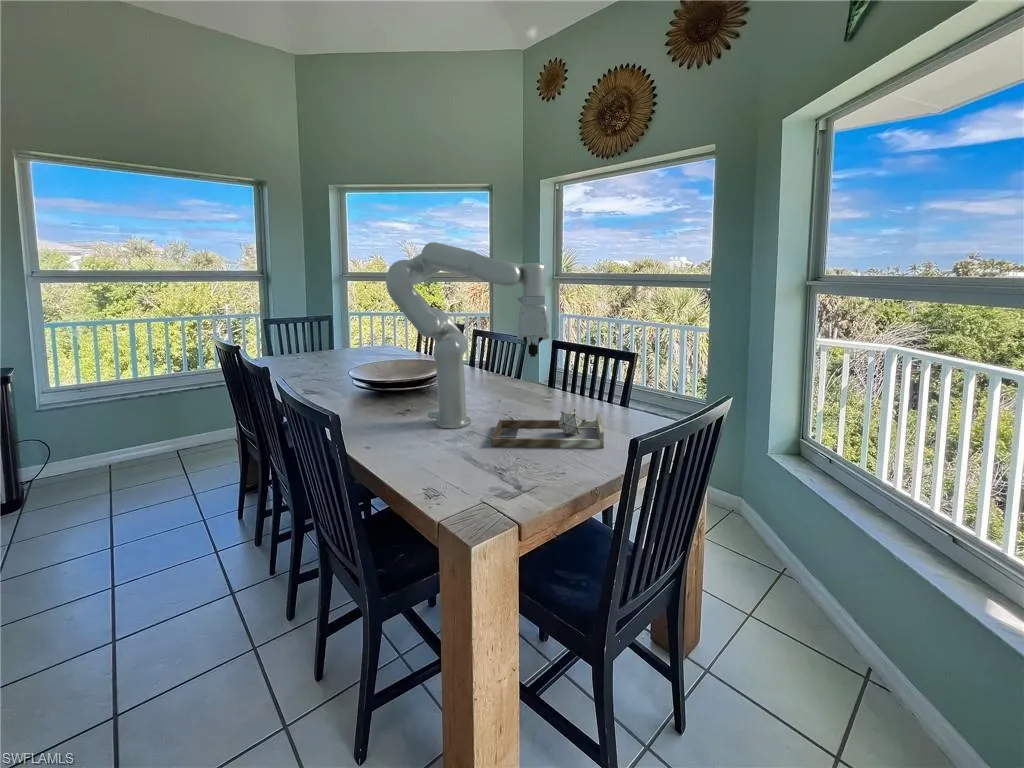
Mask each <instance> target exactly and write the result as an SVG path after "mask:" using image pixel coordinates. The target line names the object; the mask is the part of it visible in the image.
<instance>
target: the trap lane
mask: <svg viewBox="0 0 1024 768" xmlns="http://www.w3.org/2000/svg"><path fill="white" fill-rule="evenodd" d="M600 414H601V413H599V412H596V417H595V418H596V420H592V419H591V420H590V419H589V420H588V419H587V420H586V419H584V420H585V421H583V422H582V425H581V427H596V428H595V429H596V433H598V434H597V438H540V437H539V438H537V437H536V438H530V437H528V438H527V437H525V438H524V437H523V438H521V437H520V438H519V437H517V435H518V432H519V428H520V429H521V427H522V429H524V428H523V427H529V428H528V429H561V428H560V427H559V426H555V425H558V423H559V420H560V419H499V420H498V422H497V425H496V427H495V429H494V431H493V434H492V435H491V438H490V446H491V448H493V447H494V448H546V449H547V448H553V449H554V448H556V449H557V448H558V447H559V448H562V449H563V448H564V449H567V448H568V449H569V448H570V449H604V448H605V446H604V445H605V444H604V443H605V438H604V437H605V431H604V427H603V423H602V417H601V415H600ZM502 427H503V428H502ZM504 427H506V428H504ZM507 427H508V428H507ZM509 427H510V428H509ZM511 427H513V428H511ZM515 427H516V428H515ZM517 427H518V428H517ZM540 427H542V428H540ZM598 438H599V439H598Z"/></svg>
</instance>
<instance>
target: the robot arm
mask: <svg viewBox="0 0 1024 768" xmlns="http://www.w3.org/2000/svg"><path fill="white" fill-rule="evenodd" d="M440 271H441V272H446V273H450V274H453V275H457V276H461V277H464V278H465V277H466V278H468V279H476V280H479V281H483V282H487V283H491V284H495V285H499V286H503V287H513V286H517V285H521V297H518V298H517V302H518V303H520V304H521V305H519V308H518V314H517V336H516V337H517V339H518V340H523V341H524V342H525V343H527V345H528V355H530V358H535V357H536V356H537V355H538V354H539V353H538V352H539V344H540V343H541V342H542V341H545V340H549V339H550V335H549V327H550V326H549V322H550V321H549V312H548V310H549V309H548V306H547V305H546V304H545V303H546V300H545V299H546V295H545V294H546V265H545V264H544V263H540V262H527V263H516V262H511V261H504V260H500V259H496V258H492V257H489V256H485V255H482V254H479V253H477V252H475V251H474V250H469V249H464V248H460V247H457V246H453V245H449V244H444V243H440V242H435V241H432V242H428V243H426V245H424V246H423V248H422V250H421V253H419V254H418V255H416V256H415V257H413V258H411V259H400V260H397V261H395V262H394V263H392V265H391V266H390V267H389V268H388V271H387V273H386V279H385V284H386V290H387V293H388V295H389V296H390V298H391V300H392V301H393V303H394V304H395V305H396V306H397V307H398V309H399V310H400V311H401V312H402V313H403V315H404V316H405V317H406V319H407V320H408V321H409V322H410V323H411V325H412V326H413V328H415V330H417V332H418V333H419V335H421V336H422V337H425V338H427V339H431V338H432V339H433V340H434V341H435V344H434V346H433V347H434V348H433V358H434V363H435V368H436V371H435V372H436V383H437V399H438V403H437V404H438V410H437V411H428V412H427V417H428V418H429V419H436V420H435V426H436V427H438V428H441V429H460V427H461V428H464V427H468V426H470V425H471V423H472V419H471V417H469V416H467V403H466V402H467V401H466V382H465V380H466V379H465V367H464V360H463V359H464V358H463V356H464V354H465V353H466V352H467V349H468V340H467V338H466V336H465V335H464V333H462V330H460V328H458V326H457V325H456V324H455V322H453V320H452V319H451V317H449V315H448V314H447V313H446V312H445V311H443V310H442V309H440V308H437V307H436V308H435V307H431V305H430V304H429V303H428V302H427V301H426V299H425V298H424V297H423V296H422V295H421V294H420V293H419V292H418V291H417V290H416V288H415V287H414V286H415V285H418V284H420V283H422V282H424V281H426V280H427V279H429V278H431V277H432V276H434V275H436V274H437V273H439V272H440ZM532 337H534V338H535V339H534V342H533V339H532Z"/></svg>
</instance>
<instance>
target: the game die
mask: <svg viewBox="0 0 1024 768" xmlns="http://www.w3.org/2000/svg"><path fill="white" fill-rule="evenodd" d="M560 413H561V416H560V418H559V419H558V420H559V423H558V425H555V426H559V427H560V428H559V429H561V430H562V432H563V433H564V434H565V435H564V436H566V437H567V436H568V435H574V434H577V435H579V434H580V430H581V428H580V427H581V425H582V422H583V421H585V420H586V419H583V418H581V417H580V415H578V413H576V408H575V409H573V411H567V412H563V411H562V410H561V411H560Z"/></svg>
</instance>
